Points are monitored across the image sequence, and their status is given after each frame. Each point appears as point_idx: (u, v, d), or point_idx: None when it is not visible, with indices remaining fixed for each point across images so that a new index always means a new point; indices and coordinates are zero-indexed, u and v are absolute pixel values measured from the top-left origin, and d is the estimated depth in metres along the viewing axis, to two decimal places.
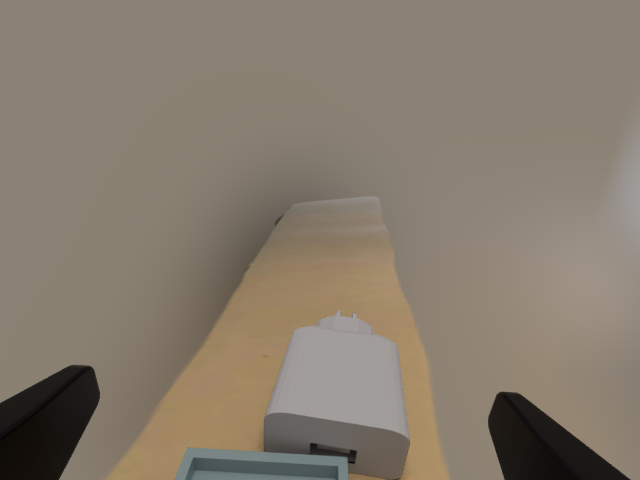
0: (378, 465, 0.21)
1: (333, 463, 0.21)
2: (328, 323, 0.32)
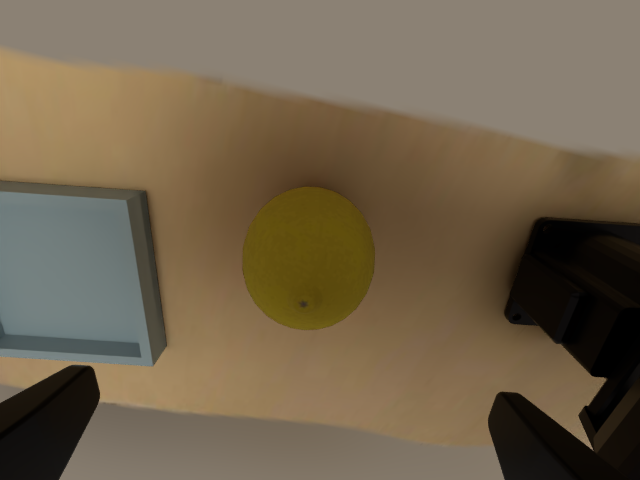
0: None
1: None
2: None
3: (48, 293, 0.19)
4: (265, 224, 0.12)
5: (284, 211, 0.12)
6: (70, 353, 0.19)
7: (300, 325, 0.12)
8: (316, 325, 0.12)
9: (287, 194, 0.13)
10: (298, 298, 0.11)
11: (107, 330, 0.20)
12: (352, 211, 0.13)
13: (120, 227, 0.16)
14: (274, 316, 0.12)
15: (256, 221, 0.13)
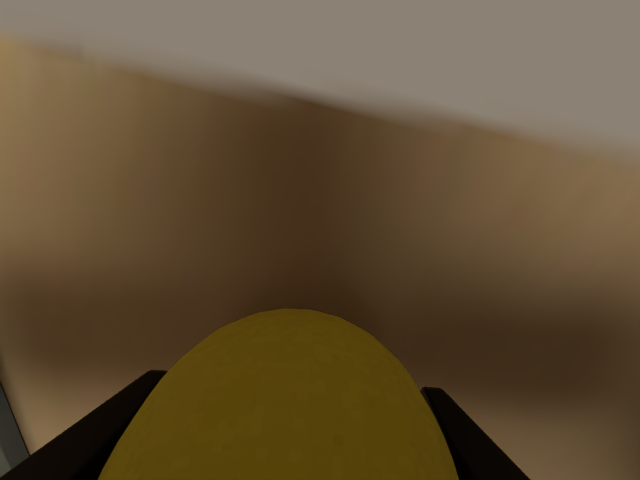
0: None
1: None
2: None
3: None
4: None
5: None
6: None
7: None
8: None
9: (210, 384, 0.04)
10: None
11: None
12: (414, 455, 0.04)
13: None
14: None
15: None
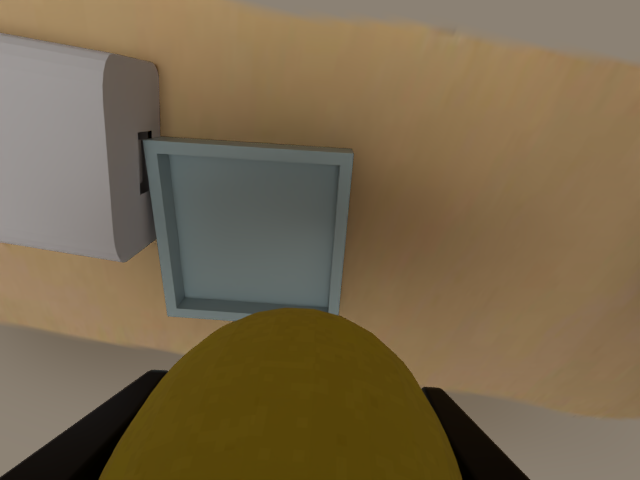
0: (148, 98, 0.16)
1: (154, 158, 0.16)
2: None
3: (236, 254, 0.19)
4: None
5: None
6: None
7: None
8: None
9: (211, 384, 0.04)
10: None
11: (287, 293, 0.20)
12: (418, 455, 0.04)
13: (340, 182, 0.16)
14: None
15: None
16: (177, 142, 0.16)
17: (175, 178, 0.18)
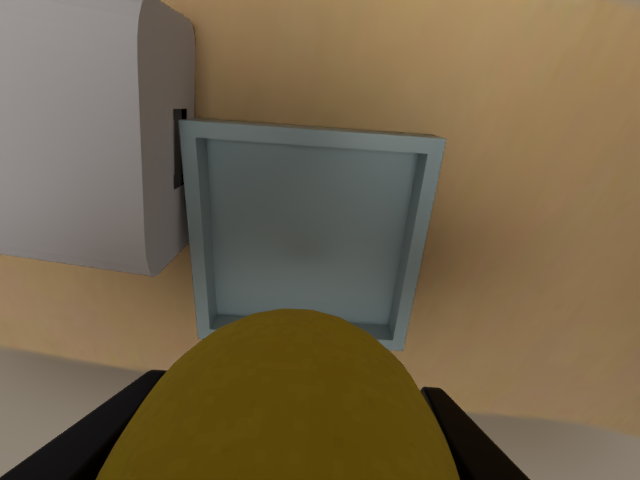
0: (184, 66, 0.12)
1: (192, 144, 0.13)
2: None
3: (283, 263, 0.16)
4: None
5: None
6: None
7: None
8: None
9: (208, 386, 0.04)
10: None
11: (341, 309, 0.17)
12: (416, 457, 0.04)
13: (425, 175, 0.13)
14: None
15: None
16: (222, 123, 0.13)
17: (213, 170, 0.14)
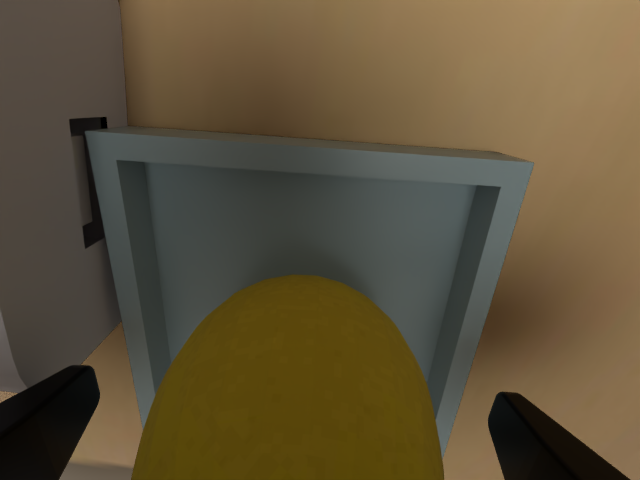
0: (93, 45, 0.07)
1: (112, 171, 0.08)
2: None
3: None
4: (170, 439, 0.04)
5: (221, 402, 0.04)
6: None
7: None
8: None
9: (241, 321, 0.06)
10: None
11: None
12: (394, 369, 0.05)
13: (494, 220, 0.08)
14: None
15: (163, 397, 0.05)
16: (160, 137, 0.08)
17: (158, 206, 0.09)
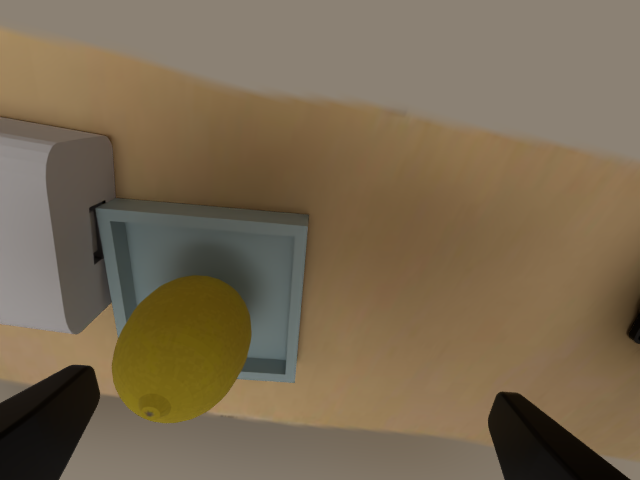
0: (99, 171, 0.16)
1: (107, 225, 0.16)
2: None
3: None
4: (128, 330, 0.13)
5: (147, 317, 0.13)
6: None
7: (160, 422, 0.13)
8: (175, 422, 0.13)
9: (161, 293, 0.14)
10: (143, 409, 0.12)
11: None
12: (218, 311, 0.14)
13: (295, 252, 0.17)
14: None
15: (128, 320, 0.14)
16: (131, 210, 0.16)
17: (131, 239, 0.18)
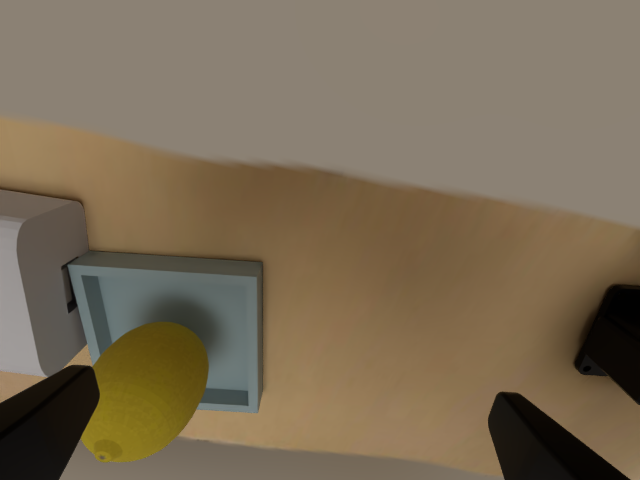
0: (71, 232, 0.18)
1: (79, 279, 0.18)
2: None
3: None
4: None
5: (104, 369, 0.15)
6: None
7: (116, 461, 0.15)
8: None
9: (121, 343, 0.16)
10: (97, 453, 0.14)
11: (214, 379, 0.22)
12: (170, 360, 0.16)
13: (247, 299, 0.18)
14: None
15: None
16: (99, 266, 0.18)
17: (103, 287, 0.20)
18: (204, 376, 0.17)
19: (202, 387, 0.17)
